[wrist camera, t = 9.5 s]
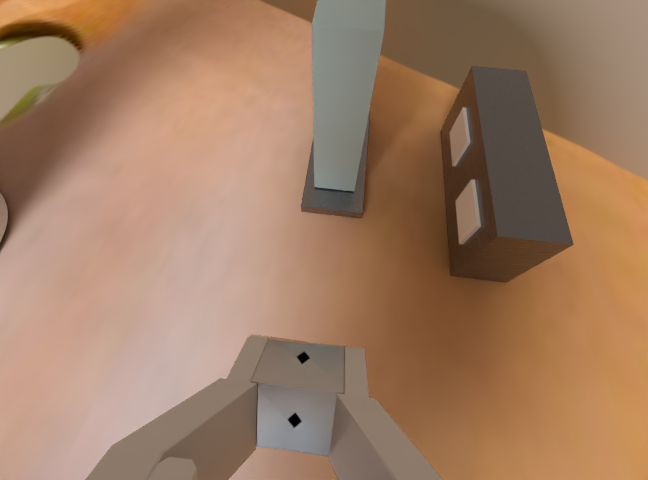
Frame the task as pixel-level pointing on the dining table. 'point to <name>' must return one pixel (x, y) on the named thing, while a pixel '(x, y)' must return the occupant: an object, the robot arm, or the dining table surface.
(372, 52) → the block
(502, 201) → the block
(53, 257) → the dining table surface
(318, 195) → the rail
